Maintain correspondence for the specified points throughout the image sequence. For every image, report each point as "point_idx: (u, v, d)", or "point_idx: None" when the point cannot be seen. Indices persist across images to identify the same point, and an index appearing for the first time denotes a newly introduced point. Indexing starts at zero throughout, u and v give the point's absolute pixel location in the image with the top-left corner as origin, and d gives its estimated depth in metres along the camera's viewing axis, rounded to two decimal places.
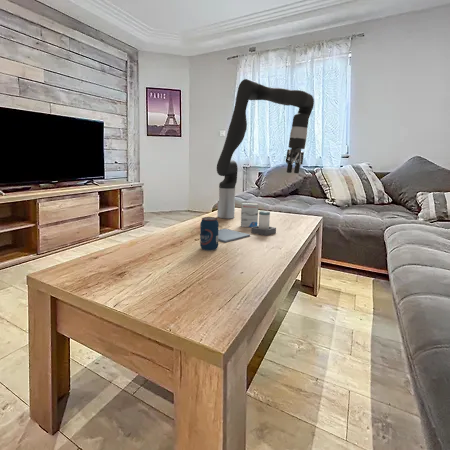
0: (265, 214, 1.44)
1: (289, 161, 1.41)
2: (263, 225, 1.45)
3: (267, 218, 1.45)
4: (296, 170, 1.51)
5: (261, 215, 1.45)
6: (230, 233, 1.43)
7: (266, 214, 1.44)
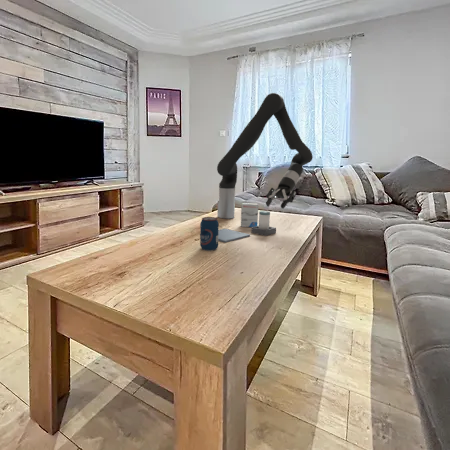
0: (265, 214, 1.44)
1: (292, 201, 1.49)
2: (263, 225, 1.45)
3: (267, 218, 1.45)
4: (269, 203, 1.54)
5: (261, 215, 1.45)
6: (230, 233, 1.43)
7: (266, 214, 1.44)
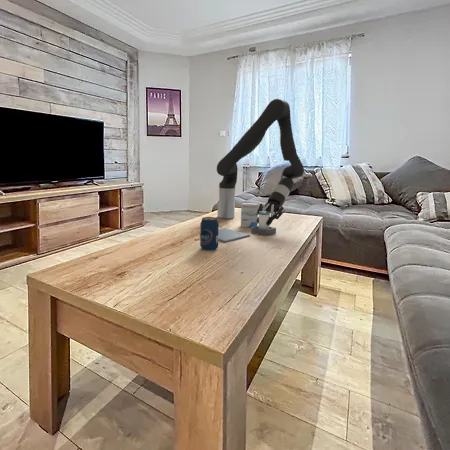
0: (265, 214, 1.44)
1: (278, 217, 1.45)
2: (263, 225, 1.45)
3: (267, 218, 1.45)
4: None
5: (261, 215, 1.45)
6: (230, 233, 1.43)
7: (266, 214, 1.44)
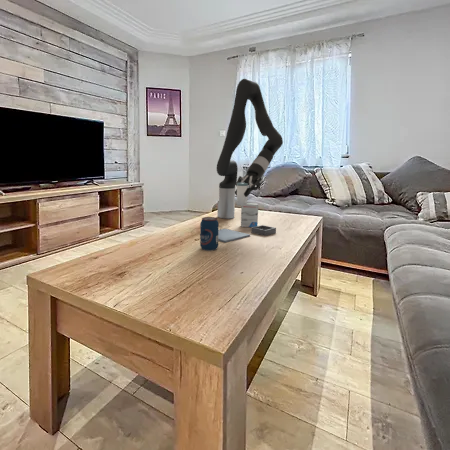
0: (243, 185, 1.42)
1: (256, 188, 1.43)
2: (241, 197, 1.43)
3: (245, 189, 1.42)
4: None
5: (239, 186, 1.42)
6: (230, 233, 1.43)
7: (243, 185, 1.42)
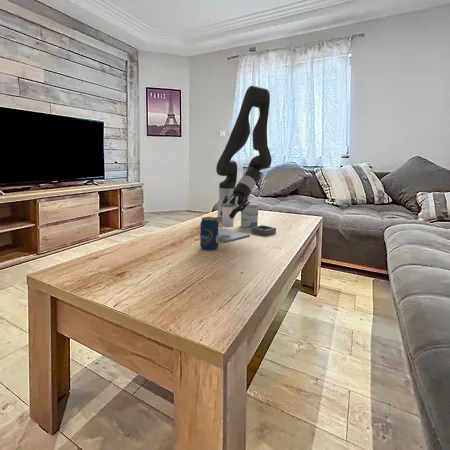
0: (228, 206, 1.37)
1: (242, 210, 1.38)
2: (226, 218, 1.38)
3: (230, 210, 1.37)
4: None
5: (224, 207, 1.37)
6: (230, 233, 1.43)
7: (229, 206, 1.37)
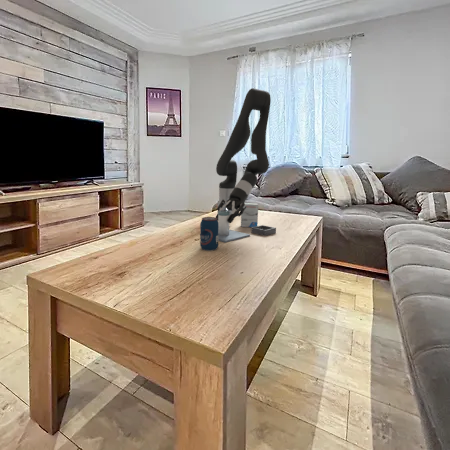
0: (224, 215, 1.36)
1: (240, 214, 1.36)
2: (222, 227, 1.37)
3: (226, 219, 1.37)
4: None
5: (220, 216, 1.37)
6: (230, 233, 1.43)
7: (225, 215, 1.36)
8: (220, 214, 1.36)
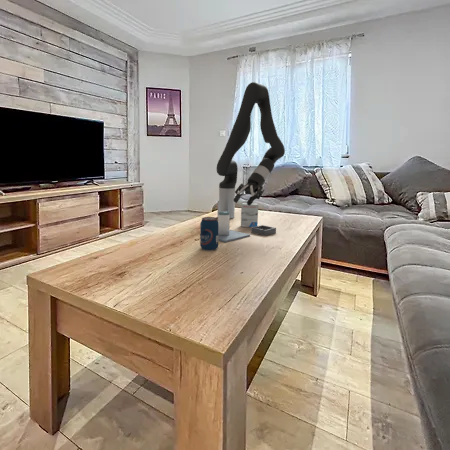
0: (224, 214, 1.37)
1: (259, 197, 1.43)
2: (222, 226, 1.38)
3: (226, 218, 1.37)
4: (236, 199, 1.49)
5: (220, 215, 1.37)
6: (230, 233, 1.43)
7: (225, 214, 1.37)
8: (220, 213, 1.37)
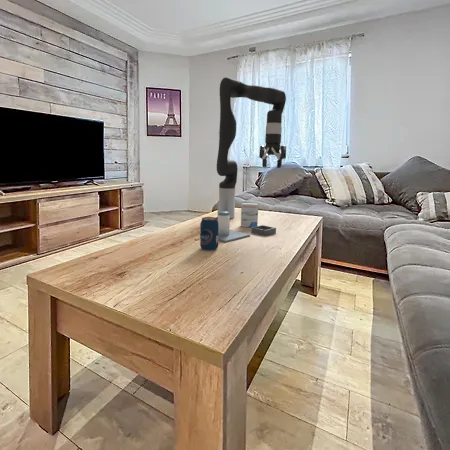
0: (224, 215, 1.36)
1: (285, 157, 1.49)
2: (223, 227, 1.37)
3: (226, 219, 1.37)
4: (265, 164, 1.57)
5: (220, 216, 1.37)
6: (230, 233, 1.43)
7: (225, 214, 1.36)
8: (220, 214, 1.36)
